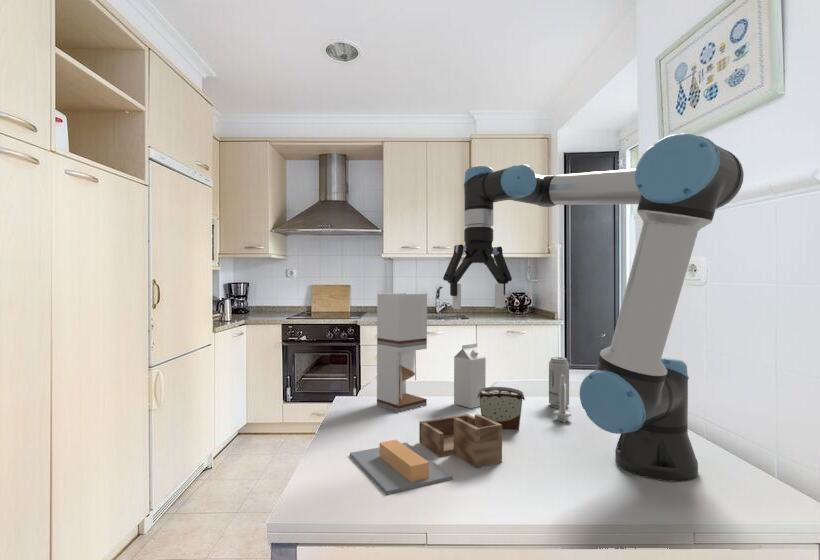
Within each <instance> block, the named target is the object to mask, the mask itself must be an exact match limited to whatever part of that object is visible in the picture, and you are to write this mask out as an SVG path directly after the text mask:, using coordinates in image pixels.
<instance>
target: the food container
mask: <svg viewBox="0 0 820 560" xmlns="http://www.w3.org/2000/svg"><path fill="white" fill-rule="evenodd" d="M478 397H479V398H480V406H479V407H480V408H479V409H480V415H482V416H484V417H486V418H488V419H491V420H493V421H495V422H497V423H499V424H502V431H512V432H513V431H515V432H520V425H521V424H520V423H521V416H522V407H523V401H526V398H525V395H524V392H523V391H522V390H520V389H517V388H512V387H506V386H489V387H488V386H487V387H486V386H485V388H482V389H480V390H479V392H478V396H477V399H478Z"/></svg>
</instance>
